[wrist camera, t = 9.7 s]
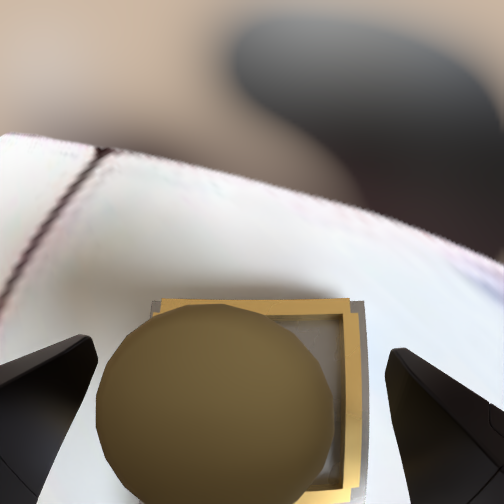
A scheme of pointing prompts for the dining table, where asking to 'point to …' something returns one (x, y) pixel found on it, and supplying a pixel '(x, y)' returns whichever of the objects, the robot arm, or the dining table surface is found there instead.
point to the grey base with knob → (338, 378)
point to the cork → (214, 409)
